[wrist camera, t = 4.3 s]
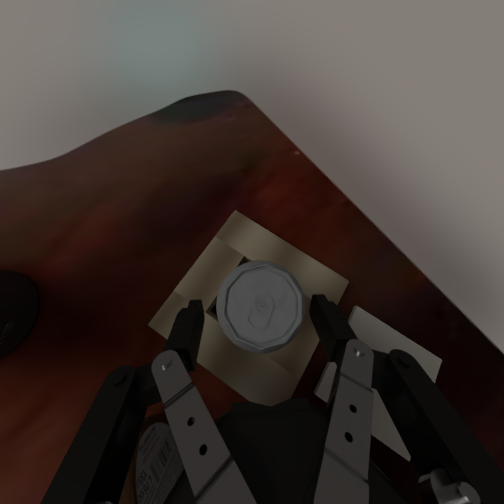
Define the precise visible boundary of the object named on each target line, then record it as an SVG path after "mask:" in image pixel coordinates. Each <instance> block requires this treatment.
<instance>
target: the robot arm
mask: <svg viewBox="0 0 504 504" xmlns="http://www.w3.org/2000/svg"><path fill="white" fill-rule="evenodd" d="M37 310H38V294H37V291H36V289H35V286H34V285H33V284H32V282H31V281H30V280H29V279H28V278H26V277H25V276H24V275H22V274H19V273H17V272H11V271H4V270H0V357H2V356H4V355H5V354H7V353H8V352H9V351H11V350H12V349H13V348H15V347H16V346H17V345H18V344H19V343H20V342H21V341H22V340H23V338H24V337H25V336H26V335H27V333H28V332H29V330H30V328H31V327H32V325H33V323H34V320H35V317H36V314H37ZM309 314H310V318H311V320H312V323H313V325H314V328H315V330H316V332H317V335H318V337H319V340H320V342H321V345H322V347H323V349H324V352H325V354H326V357H327V359H328V362H335V363H336V366H337V368H336V371H335V375H334V379H333V383H332V387H331V391H330V395H329V398H328V402H327V404H326V408H325V411H323V410H322V409H321V408H319V407H317V406H315V405H312V404H309V402H308V398H293V399H288V400H285V401H283V402H281V403H278V404H276V405H274V406H266V405H262V404H258V403H254V402H240V403H232V409H231V410H228V411H227V412H225V413H223V414H222V415H221V416H220V417H219V418H218V419H217V420H216V421H215V422H214V421H213V419H212V417H211V415H210V413H209V412H208V410H207V408H206V406H205V404H204V402H203V400H202V398H201V396H200V394H199V392H198V390H197V388H196V386H195V385H194V383H193V382H192V380H191V379H190V377H189V371H195V367H196V362H197V357H198V352H199V347H200V342H201V337H202V332H203V327H204V321H205V314H204V309H203V304H202V300H201V299H197V300H190V301H189V304H188V307H187V308H182V309H181V310H180V311H179V312H178V313H177V315H176V318H175V321H174V323H173V326H172V329H171V331H170V334H169V337H168V339H167V342H166V345H165V347H164V350H163V352H162V353H161V354H159V355H158V356H157V357H156V358H155V360H154V361H153V362H151V363H149V364H146V365H144V366H141V367H138V368H136V369H133V367H131V366H128V365H125V366H121V367H119V368H117V369H115V370H114V371H113V372H111V373H110V374H109V375H108V376H107V378H106V379H105V381H104V383H103V385H102V386H101V388H100V390H99V392H98V394H97V396H96V398H95V400H94V402H93V404H92V406H91V408H90V410H89V411H88V413H87V415H86V417H85V419H84V421H83V423H82V425H81V427H80V429H79V431H78V433H77V434H76V436H75V438H74V440H73V442H72V444H71V446H70V448H69V450H68V452H67V454H66V456H65V457H64V459H63V461H62V463H61V465H60V467H59V469H58V471H57V473H56V475H55V477H54V479H53V480H52V482H51V484H50V486H49V488H48V490H47V492H46V494H45V496H44V498H43V500H42V502H41V504H118V503H119V500H120V497H121V494H122V490H123V487H124V484H125V480H126V477H127V474H128V470H129V467H130V464H131V461H132V457H133V454H134V451H135V447H136V444H137V441H138V437H139V434H140V431H141V428H142V424H143V421H144V418H145V414H146V411H147V408H148V407H149V406H151V405H153V404H155V403H158V402H160V401H163V404H164V410H165V413H166V416H167V419H168V422H169V425H170V428H171V430H172V433H173V436H174V439H175V442H176V445H177V448H178V450H179V453H180V456H181V459H182V462H183V465H184V468H185V469H184V470H183V472H182V474H181V475H180V477H179V478H178V480H177V482H176V483H175V485H174V486H173V488H172V490H171V491H170V493H169V494H168V496H167V498H166V499H165V501H164V503H163V504H412V503H411V502H410V501H409V500H408V499H407V498H406V497H405V496H404V495H403V494H402V493H401V492H400V491H399V489H398V488H397V487H396V486H395V485H394V484H393V483H392V482H391V481H390V480H389V479H388V478H387V477H386V475H385V474H384V473H383V472H382V471H381V470H380V469H379V468H378V467H377V466H376V465H375V464H374V463H373V461H372V460H371V459H370V458H369V453H370V440H371V427H372V414H373V401H374V393H373V391H372V390H371V388H373V389H376V390H377V392H378V394H379V396H380V398H381V400H382V401H383V403H384V405H385V407H386V409H387V411H388V413H389V415H390V417H391V419H392V421H393V423H394V425H395V427H396V429H397V431H398V433H399V435H400V437H401V439H402V441H403V443H404V445H405V447H406V449H407V451H408V452H409V454H410V456H411V458H412V460H413V462H414V464H415V466H416V468H417V470H418V472H419V474H420V476H421V477H420V479H419V482H418V487H419V492H420V496H421V498H422V502H423V504H504V473H503V472H502V471H501V469H500V468H499V467H498V466H497V464H496V463H495V462H494V460H493V459H492V458H491V456H490V455H489V454H488V453H487V451H486V450H485V449H484V447H483V446H482V445H481V443H480V442H479V441H478V440H477V438H476V437H475V436H474V434H473V433H472V432H471V430H470V429H469V428H468V427H467V425H466V424H465V423H464V421H463V420H462V419H461V417H460V416H459V415H458V413H457V412H456V411H455V410H454V408H453V407H452V406H451V404H450V403H449V402H448V400H447V399H446V398H445V397H444V395H443V394H442V393H441V391H440V390H439V389H438V387H437V386H436V385H435V384H434V382H433V381H432V380H431V378H430V377H429V376H428V374H427V373H426V372H425V370H424V369H423V368H422V367H421V365H420V364H419V363H418V361H417V360H416V359H415V358H414V357H413V356H412V355H410V354H409V353H407V352H405V351H403V350H400V349H393V350H391V351H390V352H389V353H385V352H380V351H376V350H373V349H371V348H370V347H369V346H368V345H367V344H366V343H364V342H363V341H360V340H359V339H358V338H357V336H356V334H355V333H354V331H353V330H352V328H351V326H350V325H349V323H348V321H347V320H346V319H345V317H344V315H343V314H342V312H341V310H340V308H339V307H338V306H337V305H336V304H335V303H334V302H333V301H328V300H327V298H326V296H325V295H324V294H313V295H312V299H311V303H310V308H309Z"/></svg>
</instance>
